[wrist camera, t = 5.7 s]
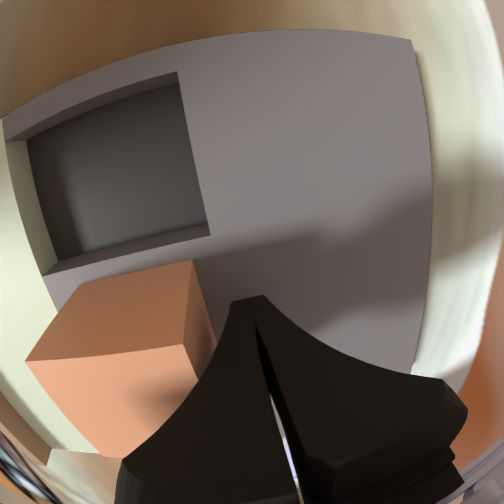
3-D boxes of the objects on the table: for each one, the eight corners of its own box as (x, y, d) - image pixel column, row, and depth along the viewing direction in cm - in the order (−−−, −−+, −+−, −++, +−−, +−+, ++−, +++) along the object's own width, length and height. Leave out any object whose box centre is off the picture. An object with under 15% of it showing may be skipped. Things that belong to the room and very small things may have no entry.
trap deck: (390, 374, 16) (417, 412, 13) (48, 428, 15) (35, 463, 11) (385, 49, 9) (439, 30, 6) (-72, 193, 8) (-111, 209, 4)
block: (222, 358, 11) (232, 450, 7) (123, 372, 11) (103, 456, 7) (192, 259, 10) (182, 343, 5) (79, 284, 9) (24, 361, 5)
